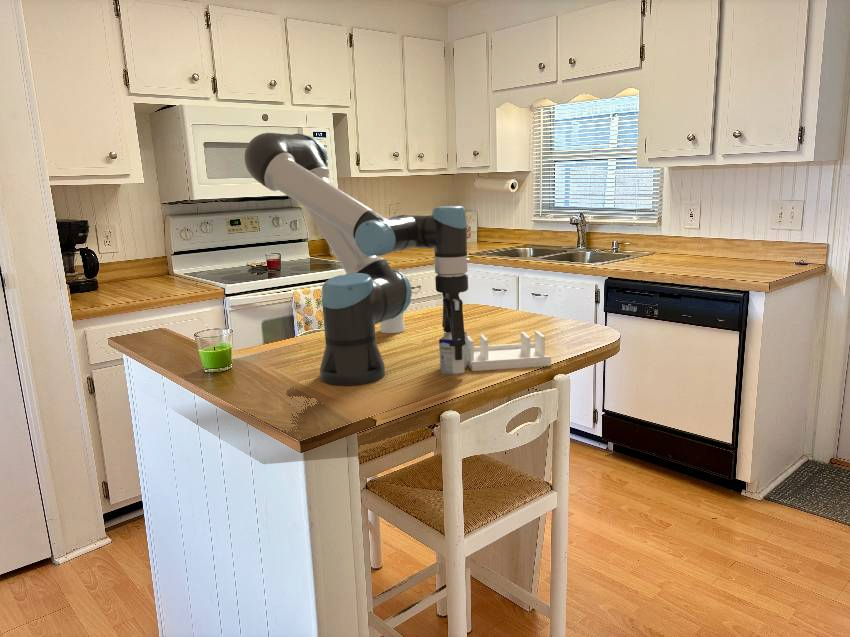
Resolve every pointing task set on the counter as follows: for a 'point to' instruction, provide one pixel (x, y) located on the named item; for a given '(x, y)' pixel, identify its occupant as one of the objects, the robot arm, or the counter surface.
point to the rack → (508, 354)
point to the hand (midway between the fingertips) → (454, 365)
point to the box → (450, 354)
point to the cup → (393, 325)
